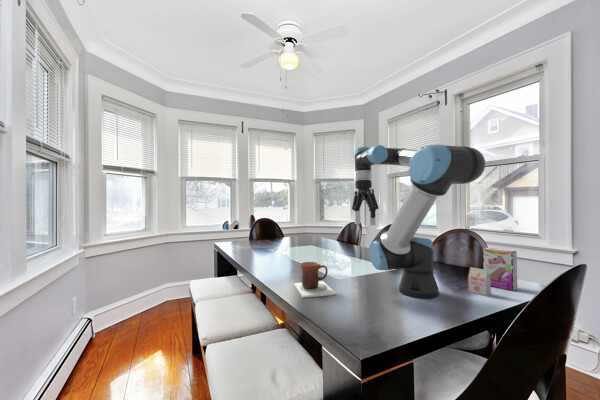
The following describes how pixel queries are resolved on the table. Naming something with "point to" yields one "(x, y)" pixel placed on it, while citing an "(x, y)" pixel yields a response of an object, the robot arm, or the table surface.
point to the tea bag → (479, 282)
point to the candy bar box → (501, 267)
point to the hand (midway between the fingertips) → (364, 224)
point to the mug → (311, 274)
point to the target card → (315, 290)
